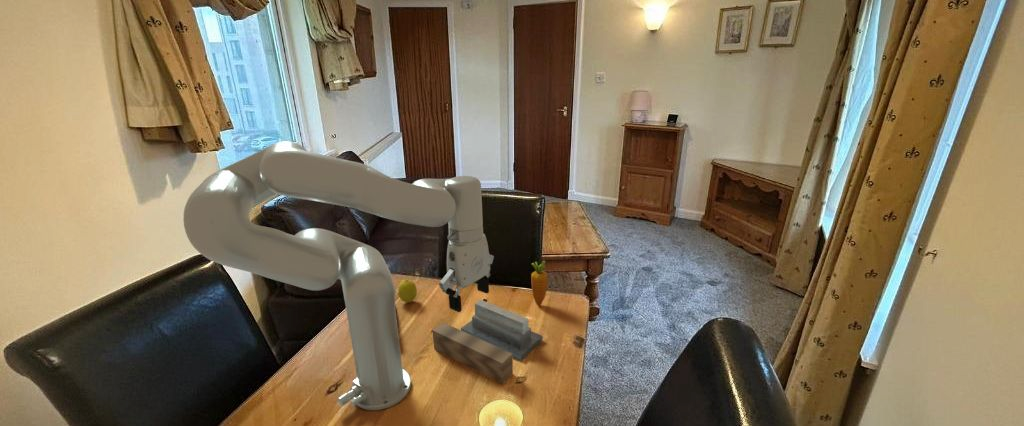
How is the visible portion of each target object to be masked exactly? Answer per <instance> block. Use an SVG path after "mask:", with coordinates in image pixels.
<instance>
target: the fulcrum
mask: <svg viewBox="0 0 1024 426" xmlns="http://www.w3.org/2000/svg"><path fill="white" fill-rule="evenodd" d="M460 330H461V331H463V332H466V333H468V334H470V335H472V336H474V337H477V338H479V339H481V340H483V341H486V342H488V343H490V344H492V345H494V346H497V347H499V348H501V349H503V350H505V351H508V352H510V353H512V354H513V358H514V359H516V360H518V361H520V362H522V361H523V360H524V359H525V358H526V357H527V356H528V355H529V354H530V353H532V351H534V349H535V348H536V347H537V346H538V345H540V343H542V342H543V335H542V334H539V333H537V332H534V331H532V327H529V318H527V317H525V316H522V315H520V314H517V313H515V312H514V311H513V312H512V311H510V310H507V309H505V308H502V307H499V306H497V305H495V304H492V303H490V302H487V301H485V300H482V299H479V300H477V301H476V302H475V303H474V315H473V316H472V317H471V320H470V321H469V322H467V323H466V324H465V325H464V326H462V327H460Z"/></svg>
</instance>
